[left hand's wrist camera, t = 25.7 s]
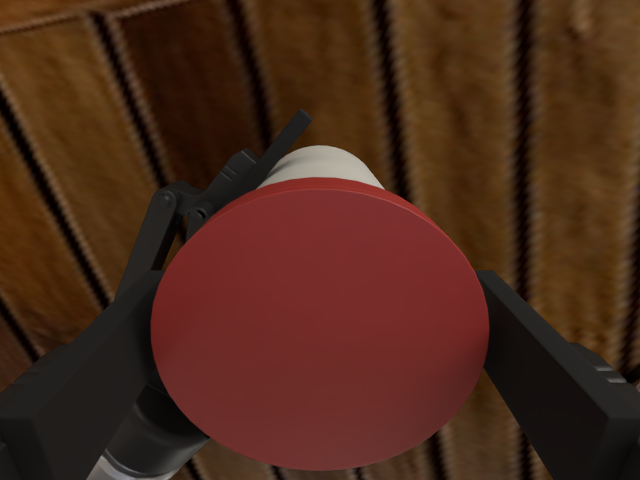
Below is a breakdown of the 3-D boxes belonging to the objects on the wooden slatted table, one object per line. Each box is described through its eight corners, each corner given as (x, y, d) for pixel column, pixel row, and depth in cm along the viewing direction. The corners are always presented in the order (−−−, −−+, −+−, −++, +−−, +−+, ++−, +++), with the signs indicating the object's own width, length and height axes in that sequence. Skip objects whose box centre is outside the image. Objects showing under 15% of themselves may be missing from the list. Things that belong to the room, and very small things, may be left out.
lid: (513, 359, 13) (540, 393, 11) (282, 465, 15) (278, 507, 13) (376, 105, 10) (386, 105, 8) (107, 282, 12) (75, 309, 10)
